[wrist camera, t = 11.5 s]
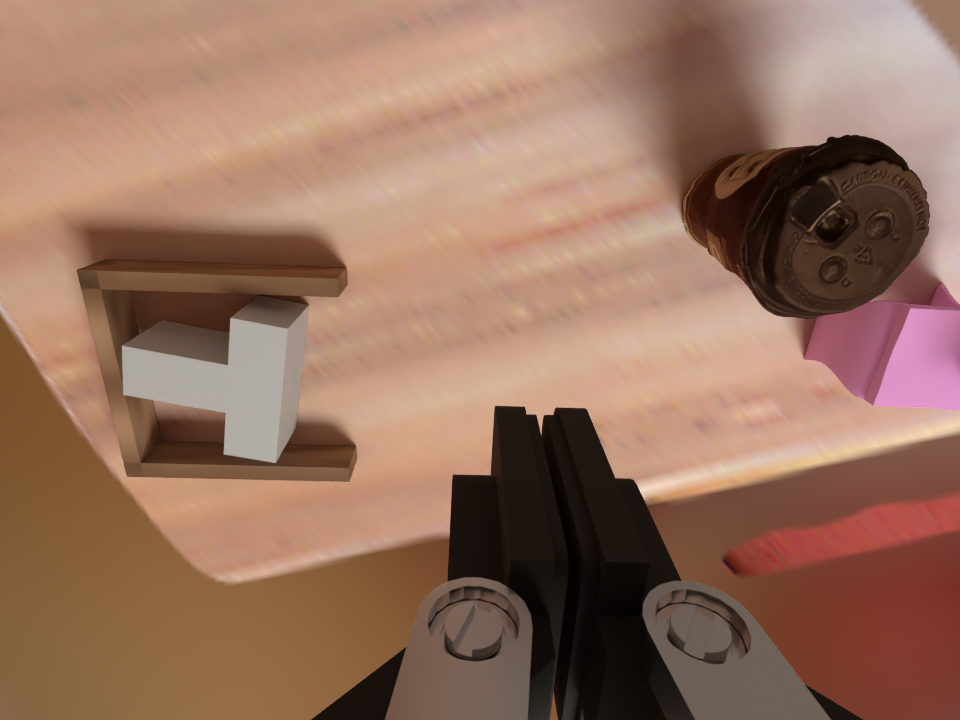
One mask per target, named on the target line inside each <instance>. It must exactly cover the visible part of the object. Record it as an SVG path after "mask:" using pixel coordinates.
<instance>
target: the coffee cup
mask: <svg viewBox="0 0 960 720" xmlns="http://www.w3.org/2000/svg"><path fill="white" fill-rule="evenodd" d="M926 194H927V192H926V191H925V190H924V188H923V186H922V183H921V181H920V179H919V178H918V176H917V175H916V174H915V173H914V172H913V171H912V170H910V169H909V167H908V165H907V163H906V162H905V160H904V159H903V158H902V157H901V156H899V155H898V154H897V153H896V152H895V151H894V150H893V149H892V148H890V147H889V146H887V145H886V144H884V143H882V142H880V141H879V140H875V139H872V138H868V137H864V136H859V135H852V136H850V135H845V136H842V137H840V138H835V137H829V138H828V139H827V142H826V143H824V144H821V145H819V146H803V147H790V148H782V149H773V150H764V151H758V152H754V153H750V154H748V155H745V154H741V155H733V156H729V157H726V158H724V159H721V160H719V161H718V162H716V163H714V164H713V165H711V166H709V167H708V168H707V169H706V170H705V171H704V172H703V173H702V174H701V175H700V176H698V177H697V178H696V179H695V180H694V182H693V183H692V186H691V188H690V190H689V191H688V193H687V195H686V196H685V197H684V200H683V210H684V217H683V223H684V224H685V226H686V231H687V233H688V234H689V235H690V237H691V238H692V240H693V241H694V242H696V243H697V244H698V245H700V246H702V247H705V248H707V249H708V252H709V254H710V255H712V256H713V257H715V258H716V259H717V260H718V261H719V262H720V263H721V264H722V265H723V266H724V268H725V269H726V270H729V271H730V272H732V273H735V274H737V275H738V276H739V277H740V278H741V279H742V280H743V281H744V282H745V284H746V285H747V286H748V287H749V289H750V290H751V291H752V293H753V294H754V296H755V297H756V299H757V300H758V302H759V303H760V304H761V305H762V307H763V308H765V309H766V310H767V311H769V312H770V313H772V314H774V315H777V316H782V317H797V318H805V319H808V318H816V317H820V316H825V315H829V314H837V313H843V312H848V311H851V310H853V309H855V308H857V307H859V306H862V305H864V304H865V303H867V302H869V301H871V300H872V299H873V298H875V297H877V296H879V295H880V294H882V293H883V292H885V290H886V289H887V288H888V287H889V286H890V285H891V284H892V283H893V281H894V280H895V279H896V278H897V277H898V276H899V275H900V274H901V273H902V272H903V271H904V269H905V268H906V267H907V266H908V265H909V264H910V263H911V261H912V260H913V259H914V258H915V257H916V256H917V254H918V253H919V251H920V249H921V247H922V246H923V243H924V241H925V238H926V237H927V235H928V232H929V227H928V224H929V218H930V213H929V204H928V203H927V201H926V199H927V196H926Z"/></svg>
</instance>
